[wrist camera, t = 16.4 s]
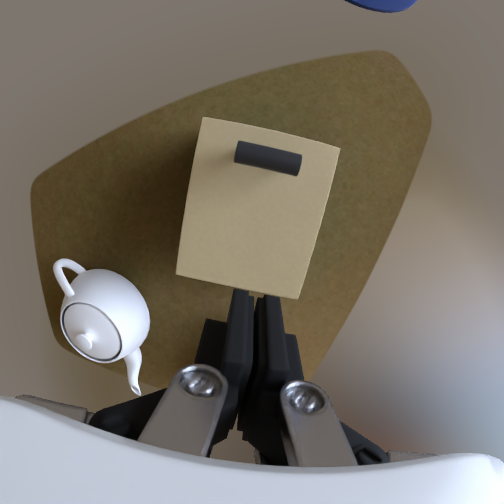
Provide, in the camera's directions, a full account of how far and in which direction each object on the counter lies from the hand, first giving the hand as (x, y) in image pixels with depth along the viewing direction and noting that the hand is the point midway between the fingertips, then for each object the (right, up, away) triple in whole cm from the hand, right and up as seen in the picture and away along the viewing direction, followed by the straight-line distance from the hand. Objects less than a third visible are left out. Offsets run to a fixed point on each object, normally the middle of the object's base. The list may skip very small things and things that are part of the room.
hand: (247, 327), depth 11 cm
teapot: (-21, -6, +31) cm, 38 cm away
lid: (0, +7, +17) cm, 18 cm away
